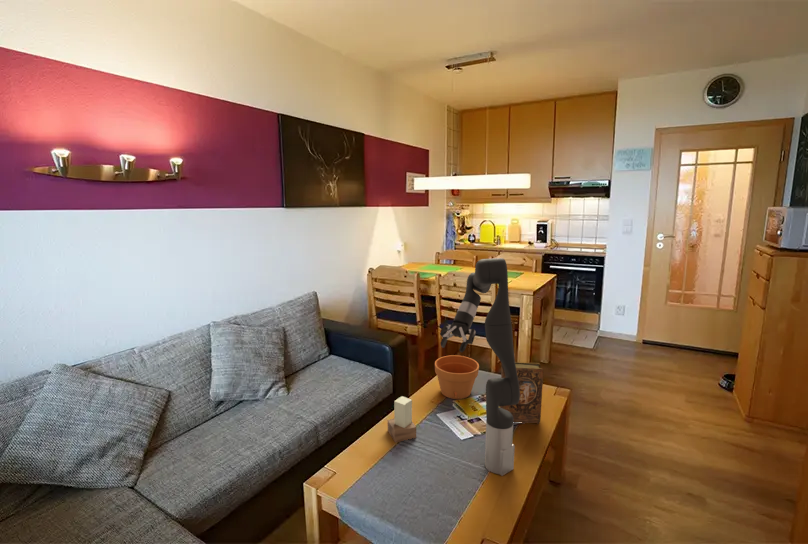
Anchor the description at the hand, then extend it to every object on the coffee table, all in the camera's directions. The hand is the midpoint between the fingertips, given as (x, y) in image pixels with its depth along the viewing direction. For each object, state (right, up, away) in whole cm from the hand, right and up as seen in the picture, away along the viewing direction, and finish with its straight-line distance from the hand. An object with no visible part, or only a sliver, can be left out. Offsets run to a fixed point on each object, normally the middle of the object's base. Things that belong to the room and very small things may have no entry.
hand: (451, 349), depth 165 cm
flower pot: (+6, -28, +34) cm, 44 cm away
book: (+30, -32, +10) cm, 45 cm away
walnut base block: (-20, -35, 0) cm, 40 cm away
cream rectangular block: (-20, -30, 0) cm, 36 cm away
